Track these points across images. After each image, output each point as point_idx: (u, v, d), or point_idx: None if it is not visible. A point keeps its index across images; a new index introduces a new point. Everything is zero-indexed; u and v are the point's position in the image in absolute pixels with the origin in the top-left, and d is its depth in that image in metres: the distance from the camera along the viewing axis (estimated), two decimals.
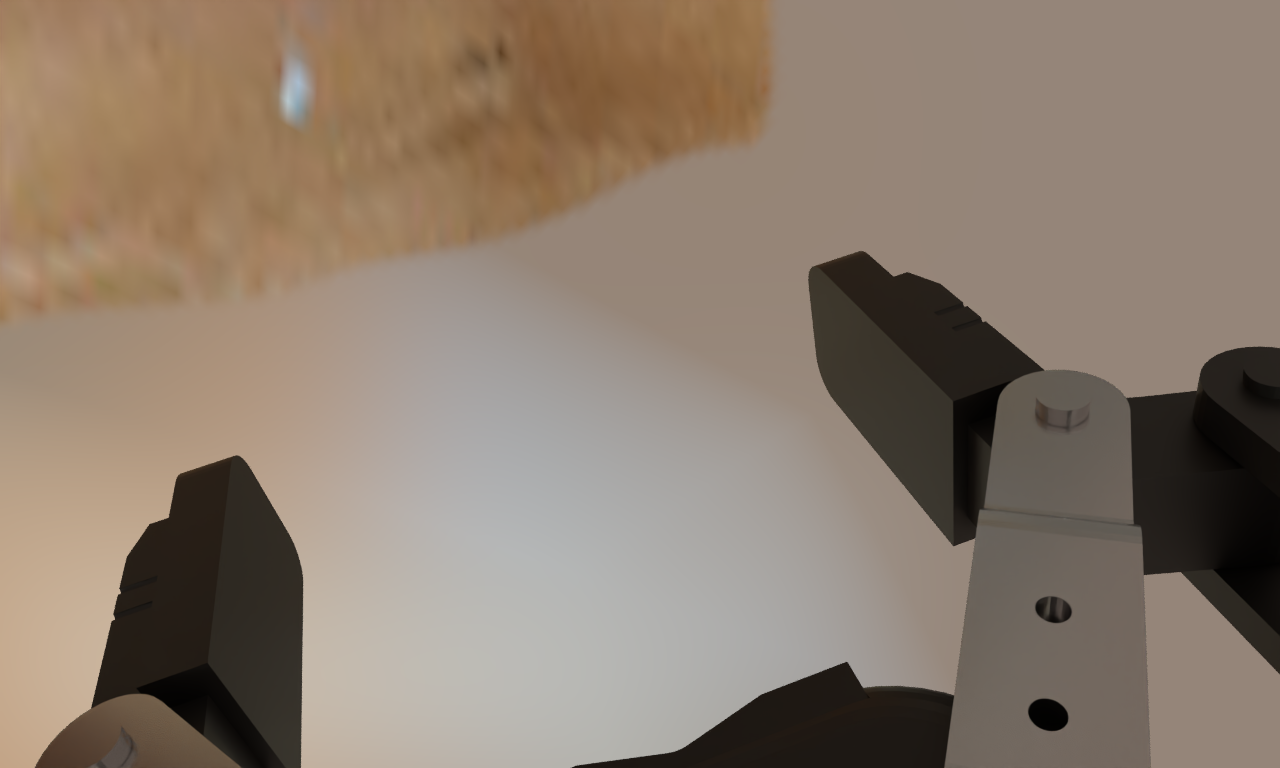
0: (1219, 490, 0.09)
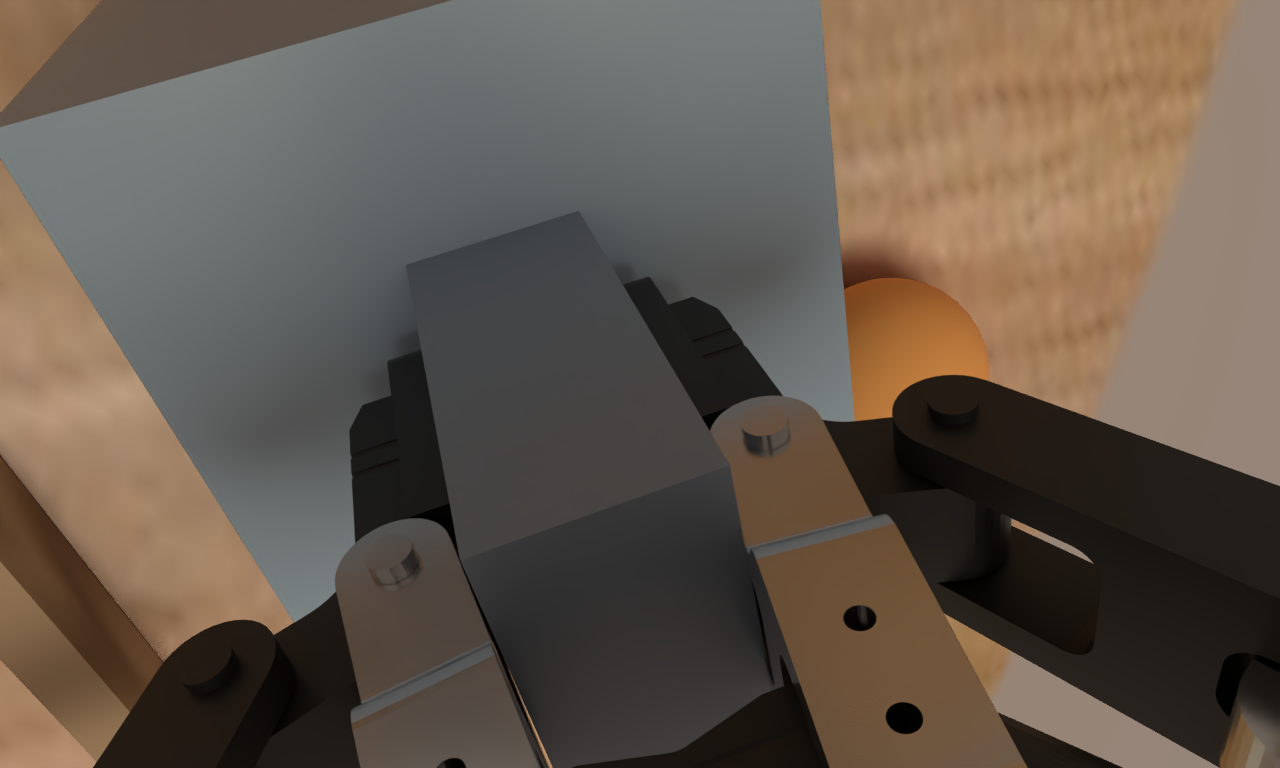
0: (906, 510, 0.10)
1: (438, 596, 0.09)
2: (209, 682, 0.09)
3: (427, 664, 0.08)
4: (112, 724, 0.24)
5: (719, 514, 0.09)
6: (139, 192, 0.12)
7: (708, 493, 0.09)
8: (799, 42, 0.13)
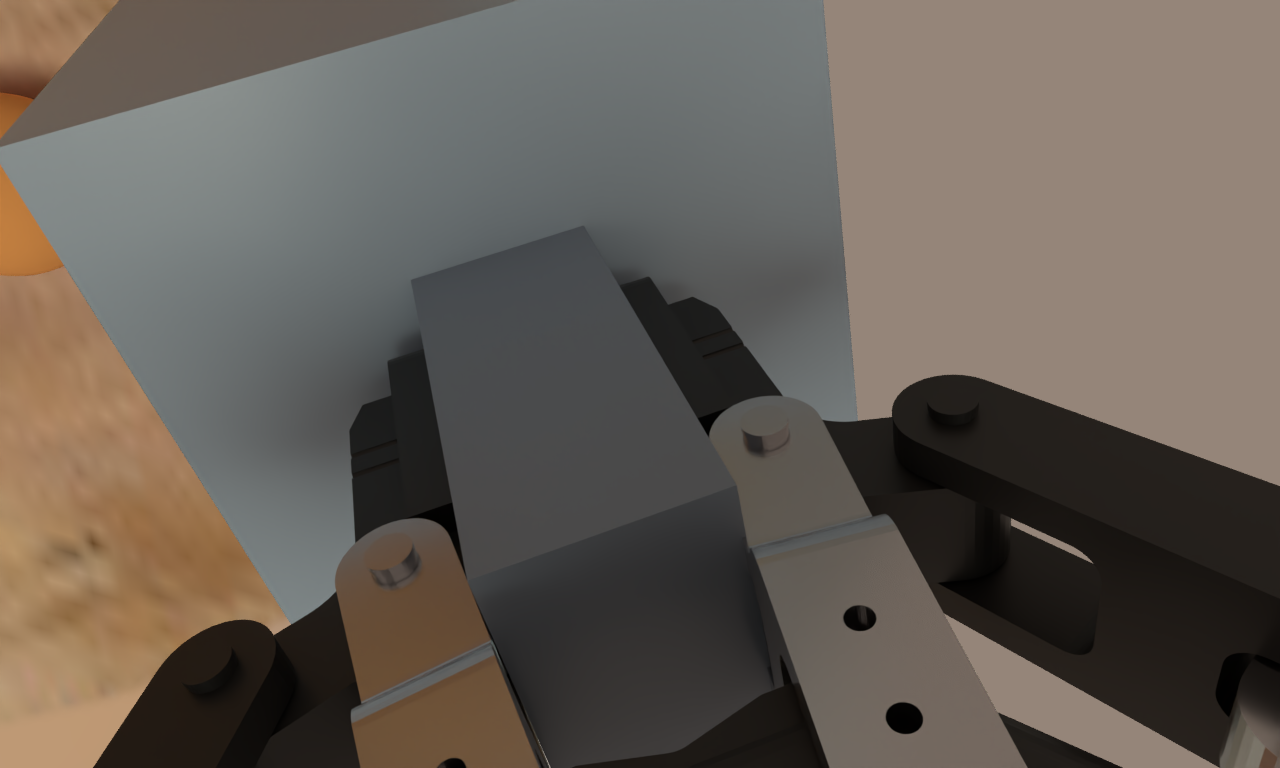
0: (905, 511, 0.10)
1: (438, 596, 0.09)
2: (209, 682, 0.09)
3: (427, 664, 0.08)
4: None
5: (726, 534, 0.09)
6: (145, 208, 0.12)
7: (715, 513, 0.09)
8: (804, 57, 0.13)
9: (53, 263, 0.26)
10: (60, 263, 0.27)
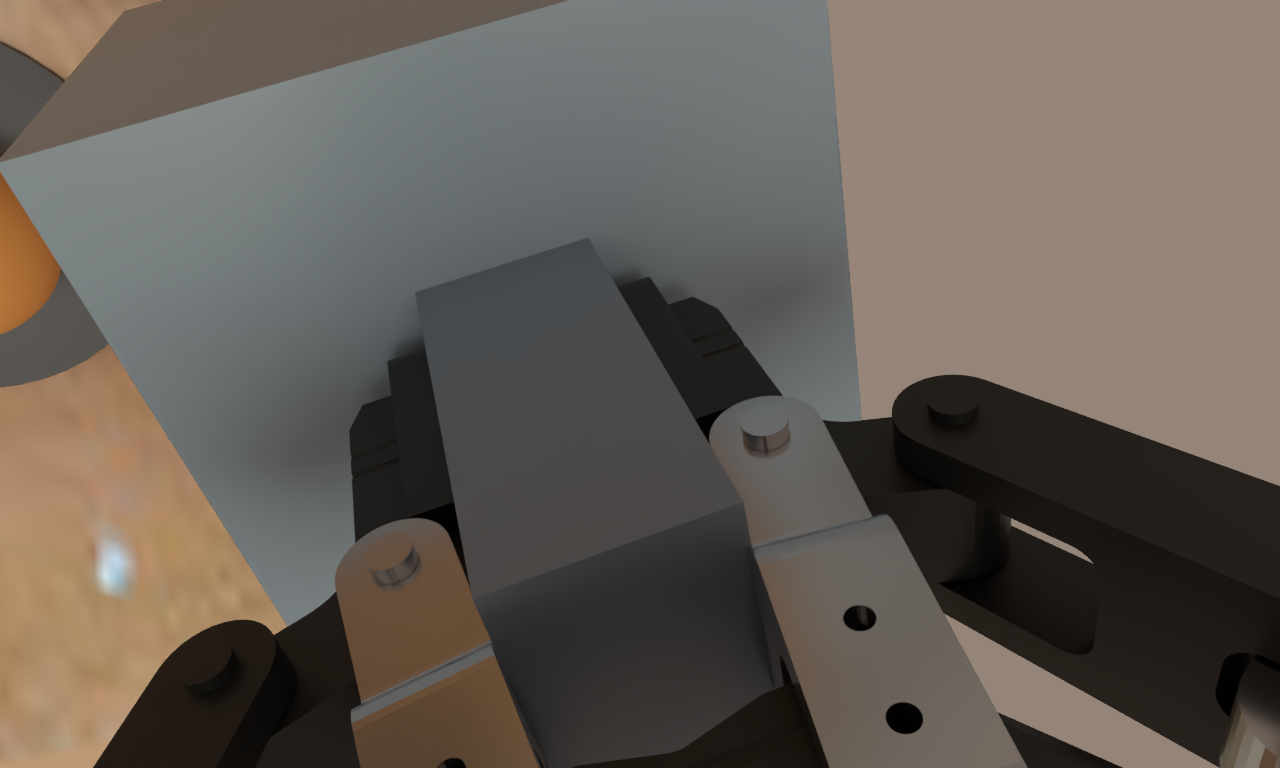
0: (906, 510, 0.10)
1: (439, 596, 0.09)
2: (210, 682, 0.09)
3: (427, 664, 0.08)
4: None
5: (731, 550, 0.09)
6: (149, 222, 0.12)
7: (721, 530, 0.09)
8: (808, 69, 0.13)
9: None
10: None
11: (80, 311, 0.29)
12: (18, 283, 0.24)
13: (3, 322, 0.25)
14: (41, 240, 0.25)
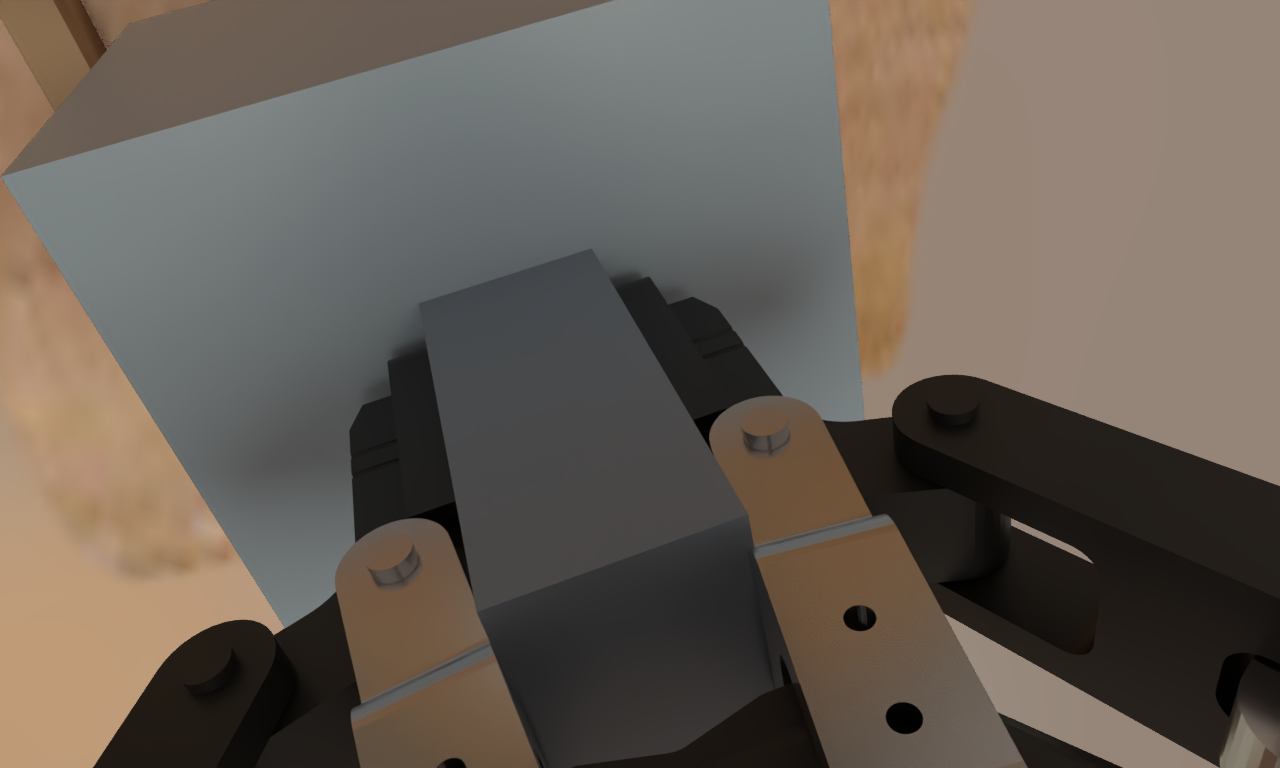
0: (905, 510, 0.10)
1: (438, 596, 0.09)
2: (209, 682, 0.09)
3: (427, 664, 0.08)
4: None
5: (737, 563, 0.09)
6: (154, 234, 0.12)
7: (726, 542, 0.09)
8: (811, 80, 0.13)
9: None
10: None
11: None
12: None
13: None
14: None
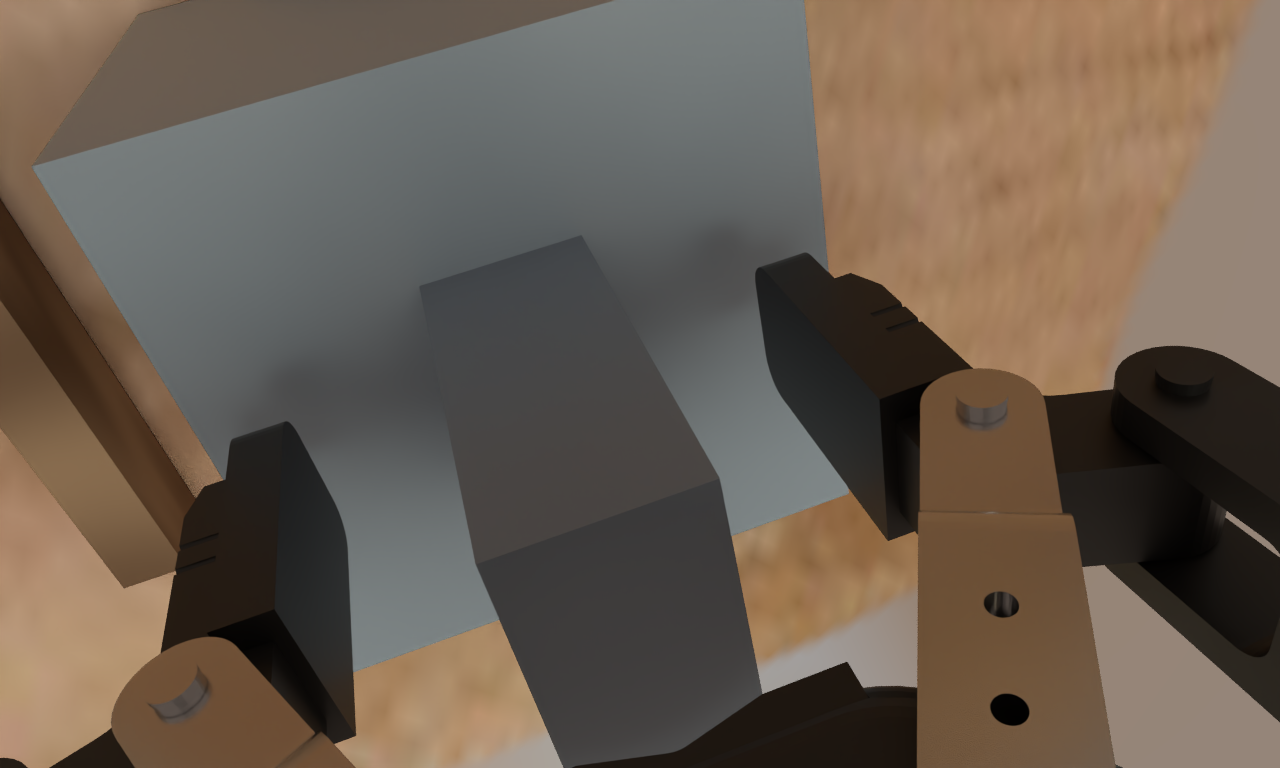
0: (1132, 485, 0.09)
1: (213, 735, 0.08)
2: None
3: None
4: (62, 434, 0.20)
5: (710, 522, 0.10)
6: (173, 220, 0.12)
7: (700, 503, 0.09)
8: (788, 78, 0.14)
9: None
10: None
11: None
12: None
13: None
14: None
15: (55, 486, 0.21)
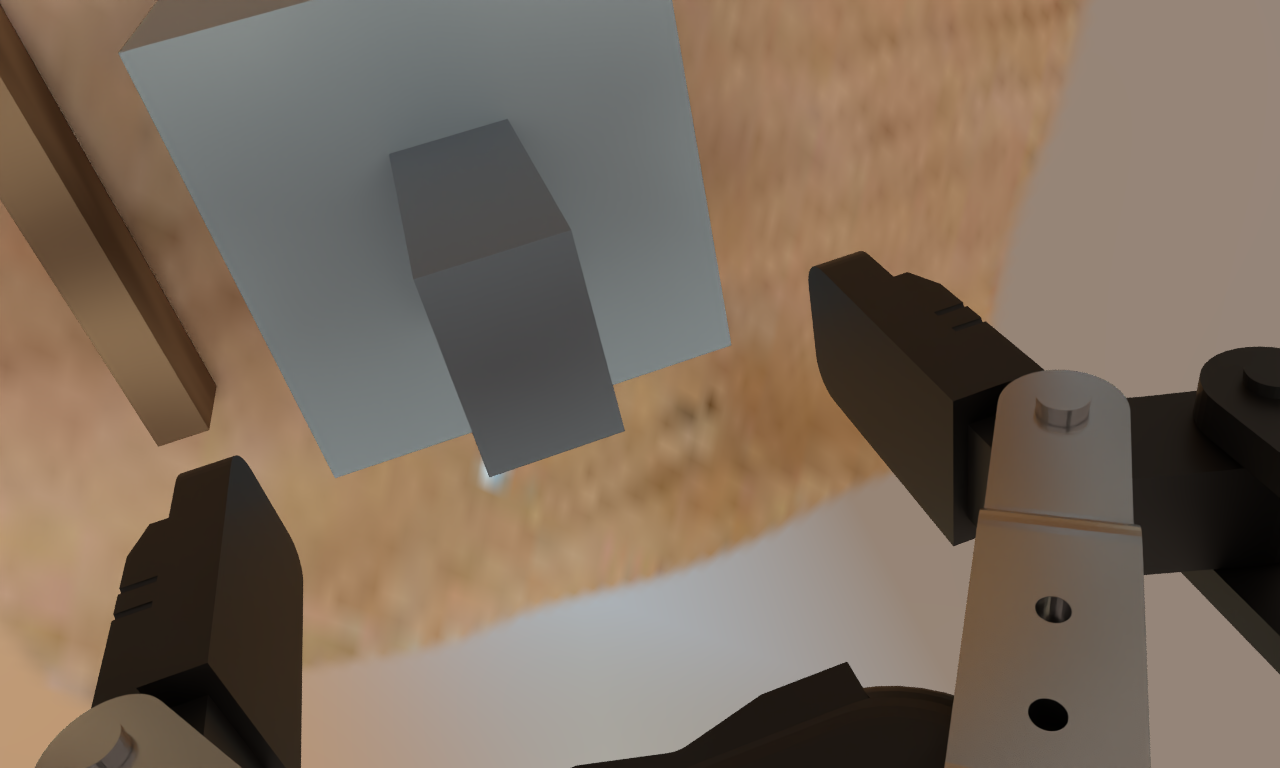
0: (1219, 490, 0.09)
1: None
2: None
3: None
4: (113, 309, 0.25)
5: (568, 264, 0.15)
6: (213, 96, 0.18)
7: (559, 248, 0.15)
8: (655, 3, 0.19)
9: None
10: None
11: None
12: None
13: None
14: None
15: (106, 353, 0.26)
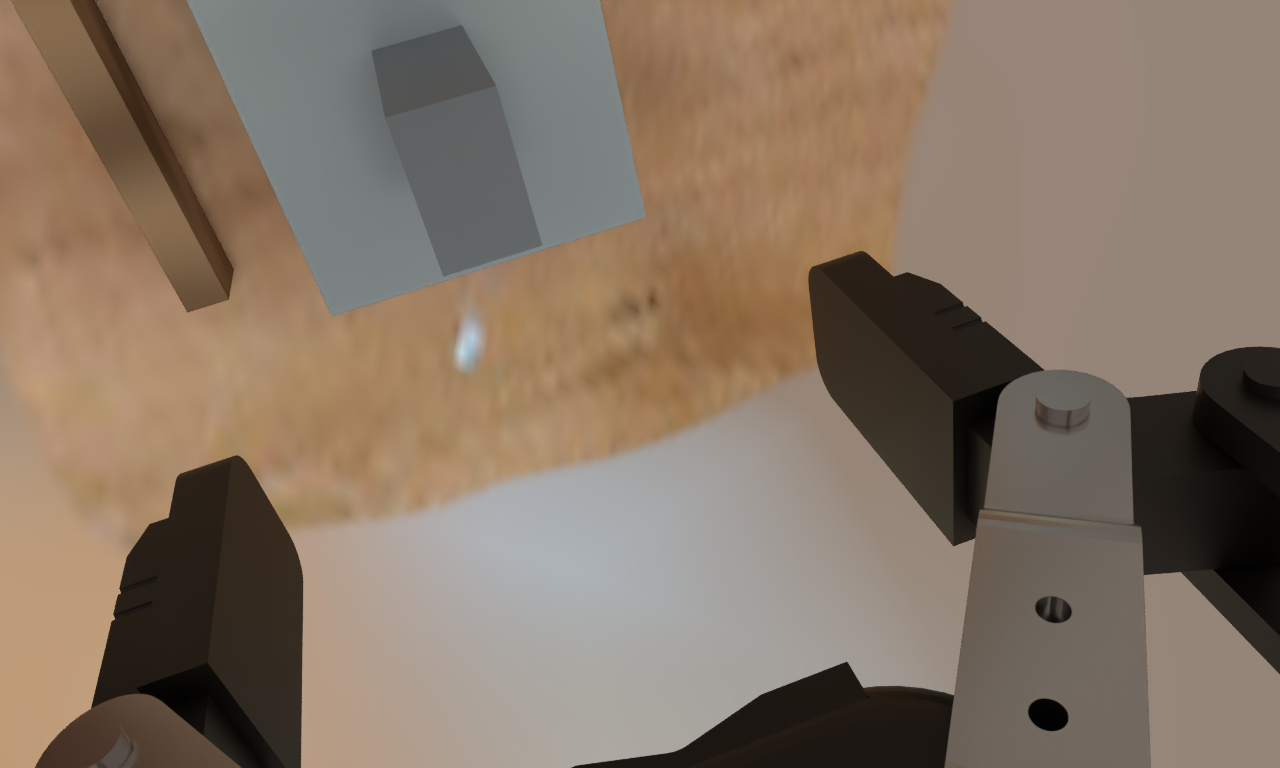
0: (1219, 490, 0.09)
1: None
2: None
3: None
4: (153, 192, 0.32)
5: (494, 111, 0.21)
6: (240, 2, 0.24)
7: (488, 99, 0.21)
8: None
9: None
10: None
11: None
12: None
13: None
14: None
15: (146, 230, 0.32)
